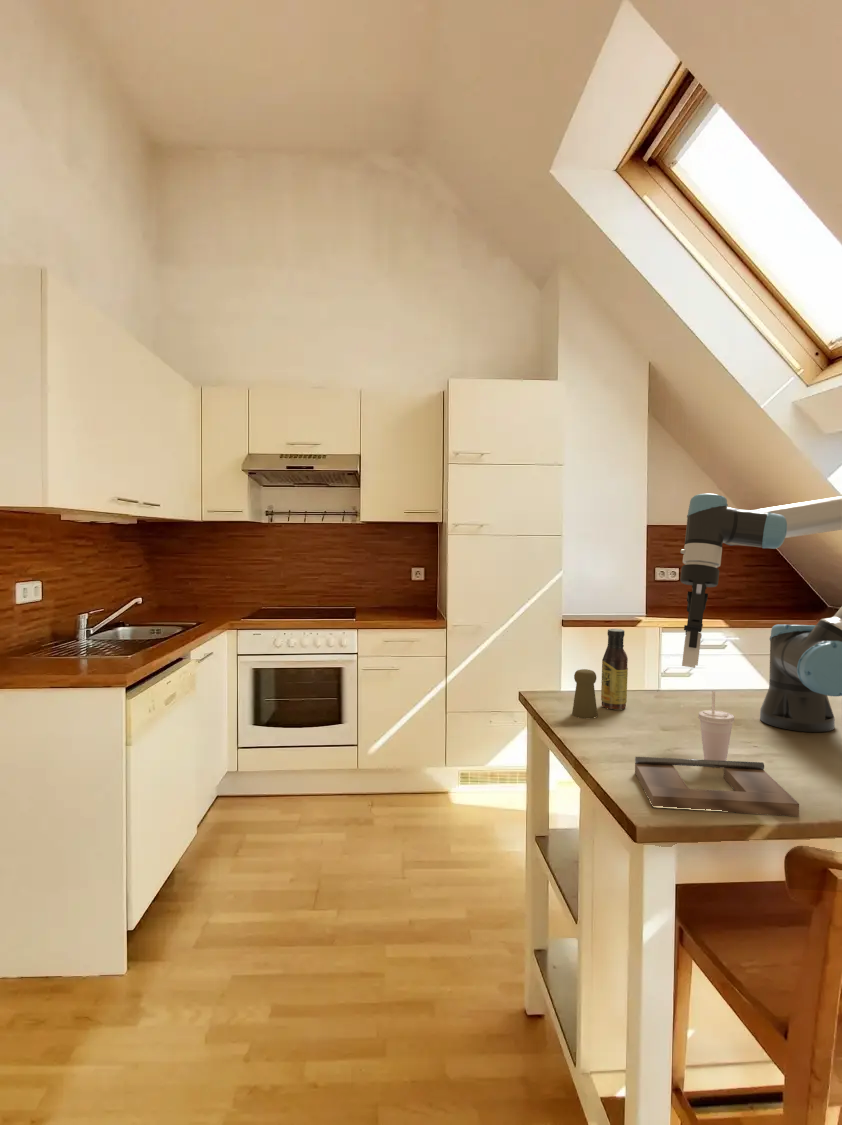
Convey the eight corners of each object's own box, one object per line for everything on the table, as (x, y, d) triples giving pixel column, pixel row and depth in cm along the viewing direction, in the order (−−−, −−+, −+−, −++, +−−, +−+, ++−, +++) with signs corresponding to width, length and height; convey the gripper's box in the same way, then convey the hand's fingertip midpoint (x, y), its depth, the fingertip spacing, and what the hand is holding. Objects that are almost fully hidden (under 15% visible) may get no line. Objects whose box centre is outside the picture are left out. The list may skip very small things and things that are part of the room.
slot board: (761, 779, 122) (761, 768, 121) (798, 816, 106) (799, 803, 106) (634, 773, 125) (635, 762, 124) (652, 808, 109) (652, 795, 109)
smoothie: (701, 756, 134) (703, 686, 133) (736, 763, 130) (738, 690, 129) (693, 765, 129) (694, 692, 128) (729, 772, 125) (731, 697, 124)
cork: (598, 719, 160) (599, 673, 160) (572, 717, 161) (572, 671, 161) (596, 712, 166) (597, 668, 166) (571, 711, 167) (572, 666, 167)
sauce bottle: (598, 704, 174) (599, 627, 173) (622, 704, 174) (624, 627, 173) (604, 711, 167) (605, 631, 167) (630, 711, 167) (631, 631, 166)
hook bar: (761, 768, 122) (761, 761, 122) (764, 770, 120) (764, 763, 120) (635, 762, 125) (635, 755, 124) (636, 764, 123) (636, 757, 123)
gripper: (680, 573, 157) (670, 664, 155) (683, 553, 134) (670, 660, 132) (715, 577, 155) (705, 670, 152) (724, 557, 132) (712, 666, 129)
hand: (689, 665), depth 142 cm, fingers open, 13 cm apart
